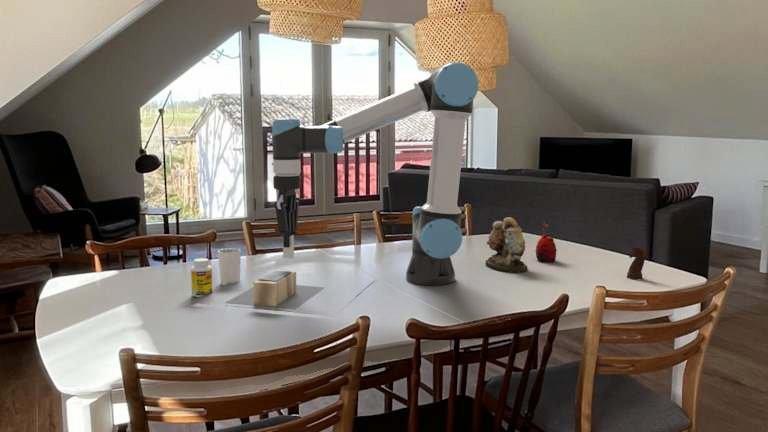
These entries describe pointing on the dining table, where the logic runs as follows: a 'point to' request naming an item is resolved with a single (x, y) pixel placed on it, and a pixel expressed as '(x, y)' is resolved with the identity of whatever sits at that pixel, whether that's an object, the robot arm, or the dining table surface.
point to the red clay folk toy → (546, 248)
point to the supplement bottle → (201, 277)
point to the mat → (290, 303)
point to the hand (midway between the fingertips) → (288, 257)
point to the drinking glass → (229, 265)
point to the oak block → (274, 287)
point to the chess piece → (636, 263)
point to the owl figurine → (506, 247)
